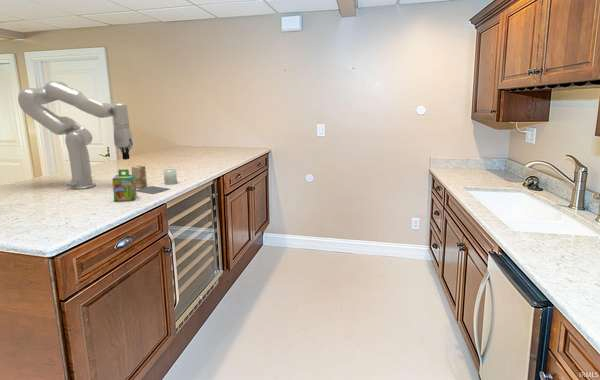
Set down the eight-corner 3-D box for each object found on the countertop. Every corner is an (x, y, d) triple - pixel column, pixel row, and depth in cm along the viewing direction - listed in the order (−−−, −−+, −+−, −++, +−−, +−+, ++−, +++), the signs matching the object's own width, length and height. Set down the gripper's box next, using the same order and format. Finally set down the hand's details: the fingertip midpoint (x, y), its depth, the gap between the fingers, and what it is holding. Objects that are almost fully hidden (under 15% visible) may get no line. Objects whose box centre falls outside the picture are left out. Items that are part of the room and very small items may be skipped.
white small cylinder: (170, 185, 216) (169, 171, 214) (162, 183, 219) (160, 170, 217) (179, 182, 222) (178, 169, 220) (170, 181, 225) (169, 168, 223)
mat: (153, 194, 196) (153, 193, 196) (134, 191, 202) (134, 190, 202) (170, 189, 206) (170, 188, 206) (151, 186, 212) (151, 185, 212)
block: (139, 189, 206) (137, 167, 203) (133, 188, 208) (131, 166, 205) (147, 187, 210) (145, 166, 207) (140, 186, 212) (138, 165, 210)
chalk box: (114, 202, 181) (110, 172, 177) (117, 197, 189) (114, 168, 186) (134, 200, 183) (131, 171, 180) (137, 196, 192) (134, 167, 188)
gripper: (106, 126, 205) (111, 159, 210) (125, 127, 199) (129, 161, 203) (118, 125, 212) (122, 157, 216) (137, 126, 205) (141, 159, 210)
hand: (126, 159), depth 210 cm, fingers closed
